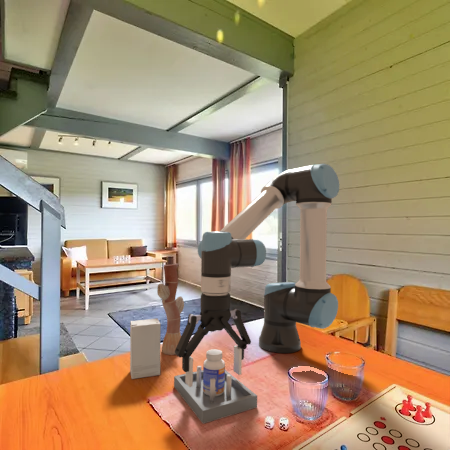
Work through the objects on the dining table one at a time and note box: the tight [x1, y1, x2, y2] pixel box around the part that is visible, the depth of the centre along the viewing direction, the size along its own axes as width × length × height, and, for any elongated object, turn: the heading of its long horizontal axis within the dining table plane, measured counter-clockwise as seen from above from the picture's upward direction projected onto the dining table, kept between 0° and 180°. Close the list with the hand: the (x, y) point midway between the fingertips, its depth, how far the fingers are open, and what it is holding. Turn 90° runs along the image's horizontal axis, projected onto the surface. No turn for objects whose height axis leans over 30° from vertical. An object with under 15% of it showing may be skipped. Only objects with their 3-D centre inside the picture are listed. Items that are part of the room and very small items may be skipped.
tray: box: [173, 365, 258, 424], centre depth 77 cm, size 18×14×6 cm
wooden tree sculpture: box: [156, 263, 185, 356], centre depth 106 cm, size 10×7×30 cm
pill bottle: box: [202, 348, 226, 396], centre depth 77 cm, size 5×5×10 cm
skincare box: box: [129, 318, 162, 380], centre depth 89 cm, size 8×6×15 cm
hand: (214, 378), depth 77 cm, fingers open, 13 cm apart
